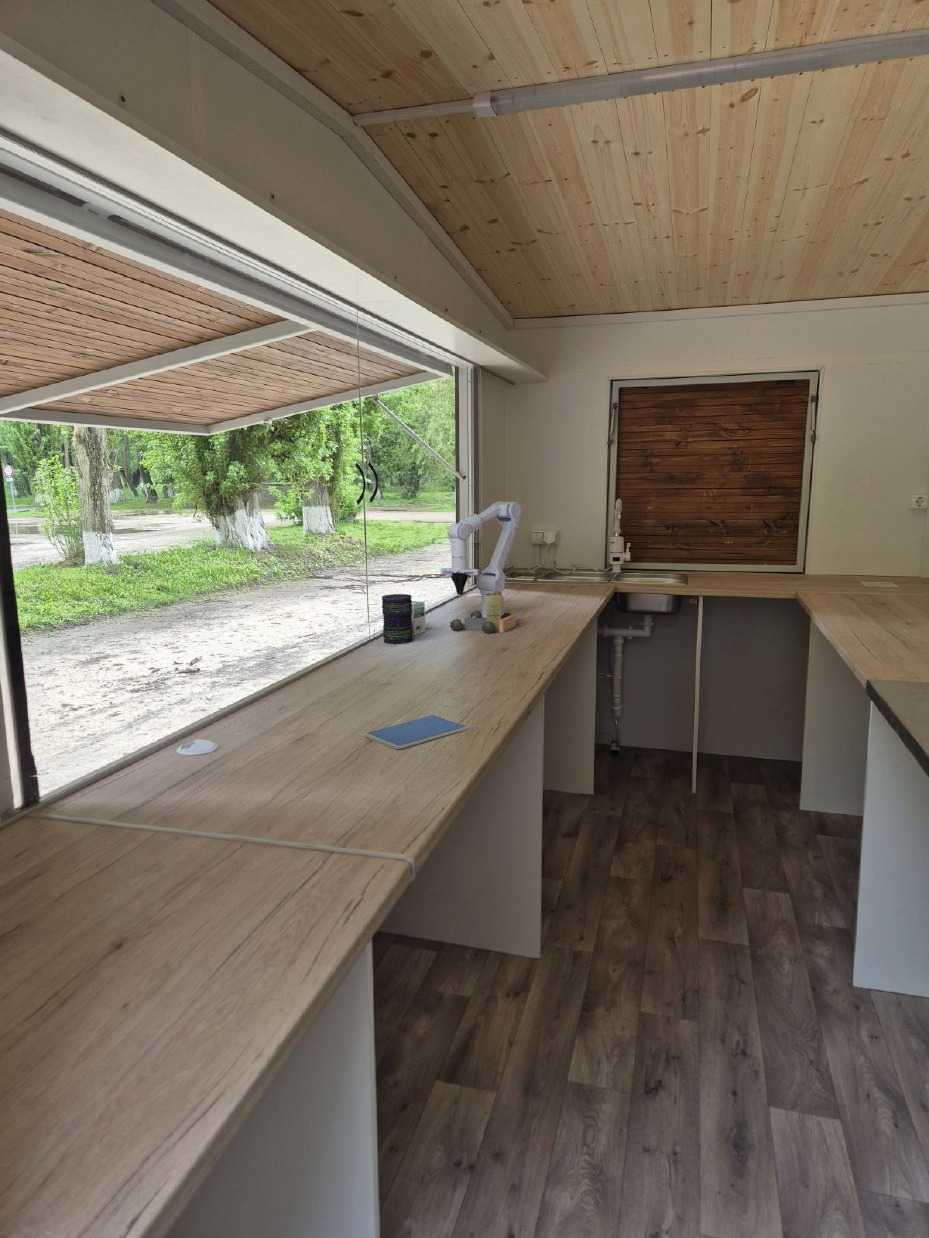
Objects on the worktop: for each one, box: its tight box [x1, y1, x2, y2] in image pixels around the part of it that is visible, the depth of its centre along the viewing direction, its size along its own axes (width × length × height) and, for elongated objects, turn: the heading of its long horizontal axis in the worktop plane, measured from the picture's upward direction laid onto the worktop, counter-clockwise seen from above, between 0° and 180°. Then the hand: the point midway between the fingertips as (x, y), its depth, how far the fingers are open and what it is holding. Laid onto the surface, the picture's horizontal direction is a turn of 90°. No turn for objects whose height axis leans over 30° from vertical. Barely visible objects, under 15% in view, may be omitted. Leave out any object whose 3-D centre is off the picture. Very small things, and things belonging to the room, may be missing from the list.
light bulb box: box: [411, 600, 427, 636], centre depth 283 cm, size 11×7×11 cm, turn 58°
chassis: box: [450, 610, 517, 634], centre depth 289 cm, size 19×19×4 cm
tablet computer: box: [364, 714, 469, 750], centre depth 177 cm, size 19×13×1 cm, turn 132°
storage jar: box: [381, 593, 414, 645], centre depth 269 cm, size 10×10×15 cm
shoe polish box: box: [486, 593, 502, 626], centre depth 287 cm, size 5×5×12 cm
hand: (460, 594), depth 297 cm, fingers closed
